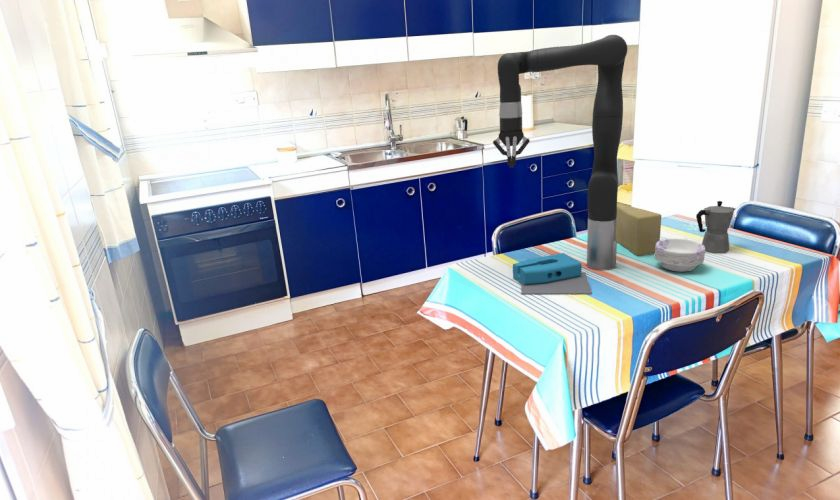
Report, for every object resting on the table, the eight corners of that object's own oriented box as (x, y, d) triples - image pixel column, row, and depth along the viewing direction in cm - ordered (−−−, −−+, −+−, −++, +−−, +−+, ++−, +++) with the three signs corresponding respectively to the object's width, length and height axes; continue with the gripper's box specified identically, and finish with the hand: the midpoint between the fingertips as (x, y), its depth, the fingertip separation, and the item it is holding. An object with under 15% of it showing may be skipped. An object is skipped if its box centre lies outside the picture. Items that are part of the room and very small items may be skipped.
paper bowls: (709, 275, 181) (711, 252, 178) (659, 275, 183) (661, 252, 181) (695, 259, 195) (697, 237, 192) (649, 259, 198) (651, 238, 195)
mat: (585, 273, 190) (585, 272, 190) (592, 294, 173) (592, 293, 173) (520, 273, 193) (520, 272, 193) (521, 294, 176) (521, 293, 176)
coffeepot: (721, 243, 208) (726, 196, 202) (740, 250, 199) (746, 201, 194) (684, 248, 205) (688, 201, 199) (702, 256, 196) (707, 207, 191)
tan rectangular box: (601, 240, 221) (602, 203, 216) (622, 236, 224) (624, 200, 219) (637, 257, 201) (639, 216, 196) (660, 252, 203) (663, 213, 198)
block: (527, 287, 181) (581, 276, 186) (527, 273, 179) (581, 262, 184) (510, 275, 191) (562, 265, 197) (510, 261, 190) (562, 252, 195)
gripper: (530, 113, 191) (530, 164, 196) (491, 115, 193) (492, 165, 198) (531, 115, 184) (531, 168, 189) (490, 118, 186) (492, 169, 191)
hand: (511, 166), depth 194 cm, fingers closed
